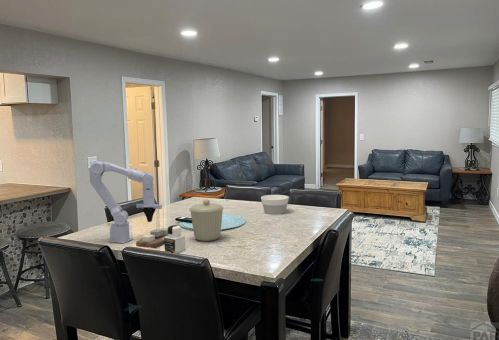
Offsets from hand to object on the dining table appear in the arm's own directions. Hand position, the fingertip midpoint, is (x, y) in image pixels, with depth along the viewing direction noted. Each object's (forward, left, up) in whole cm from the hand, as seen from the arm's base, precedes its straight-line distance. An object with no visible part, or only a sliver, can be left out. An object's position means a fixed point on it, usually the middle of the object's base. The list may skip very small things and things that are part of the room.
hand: (149, 221), depth 206 cm
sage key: (+6, +5, -8) cm, 11 cm away
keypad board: (+7, -2, -9) cm, 12 cm away
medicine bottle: (+24, -13, -10) cm, 29 cm away
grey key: (+6, -2, -7) cm, 9 cm away
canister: (+29, +10, -10) cm, 32 cm away
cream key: (+6, -9, -8) cm, 13 cm away
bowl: (+42, +82, -10) cm, 93 cm away
